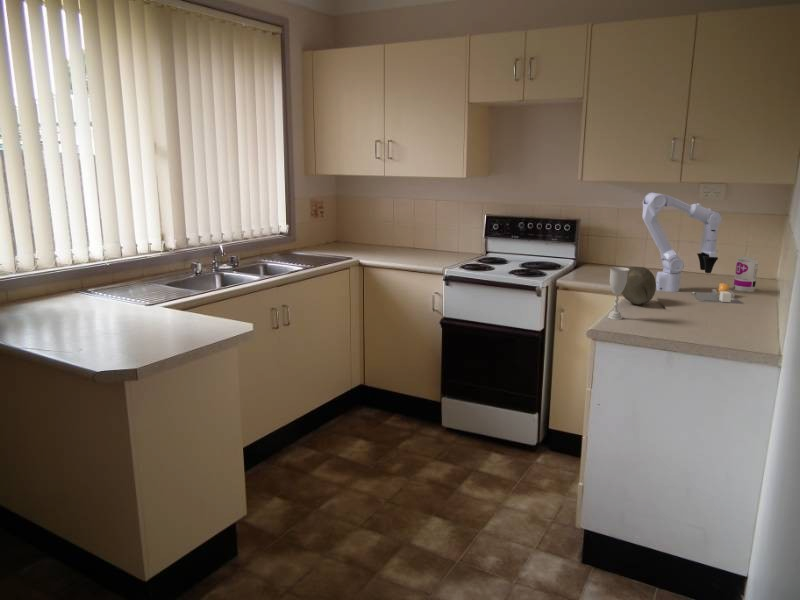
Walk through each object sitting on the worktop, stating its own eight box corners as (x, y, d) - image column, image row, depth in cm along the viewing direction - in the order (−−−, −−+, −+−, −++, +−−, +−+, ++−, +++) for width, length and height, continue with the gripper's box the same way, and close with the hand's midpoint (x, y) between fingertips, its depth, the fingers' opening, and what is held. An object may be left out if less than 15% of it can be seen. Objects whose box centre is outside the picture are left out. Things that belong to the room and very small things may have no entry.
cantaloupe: (656, 302, 253) (660, 265, 250) (650, 309, 241) (654, 271, 238) (620, 298, 260) (623, 262, 257) (612, 305, 248) (616, 267, 245)
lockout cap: (719, 296, 261) (721, 284, 260) (716, 294, 264) (718, 282, 263) (728, 297, 260) (730, 285, 259) (725, 295, 264) (727, 283, 263)
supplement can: (743, 294, 270) (747, 259, 267) (728, 290, 278) (732, 256, 275) (758, 293, 273) (763, 259, 269) (743, 289, 280) (748, 256, 277)
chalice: (609, 314, 233) (613, 266, 229) (627, 317, 229) (632, 268, 225) (601, 318, 228) (605, 269, 224) (620, 321, 224) (625, 271, 220)
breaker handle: (722, 301, 250) (723, 293, 250) (719, 299, 254) (720, 291, 254) (730, 302, 250) (731, 293, 249) (727, 300, 254) (728, 291, 253)
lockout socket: (716, 297, 260) (716, 292, 259) (711, 293, 266) (712, 289, 266) (734, 298, 258) (734, 293, 258) (728, 294, 265) (729, 290, 264)
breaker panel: (700, 304, 251) (700, 300, 251) (689, 294, 269) (689, 291, 268) (743, 306, 248) (744, 302, 248) (729, 296, 266) (730, 293, 265)
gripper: (724, 242, 260) (720, 274, 263) (714, 238, 274) (710, 268, 277) (706, 241, 261) (702, 274, 264) (697, 237, 275) (693, 268, 278)
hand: (705, 271), depth 271 cm, fingers open, 7 cm apart
